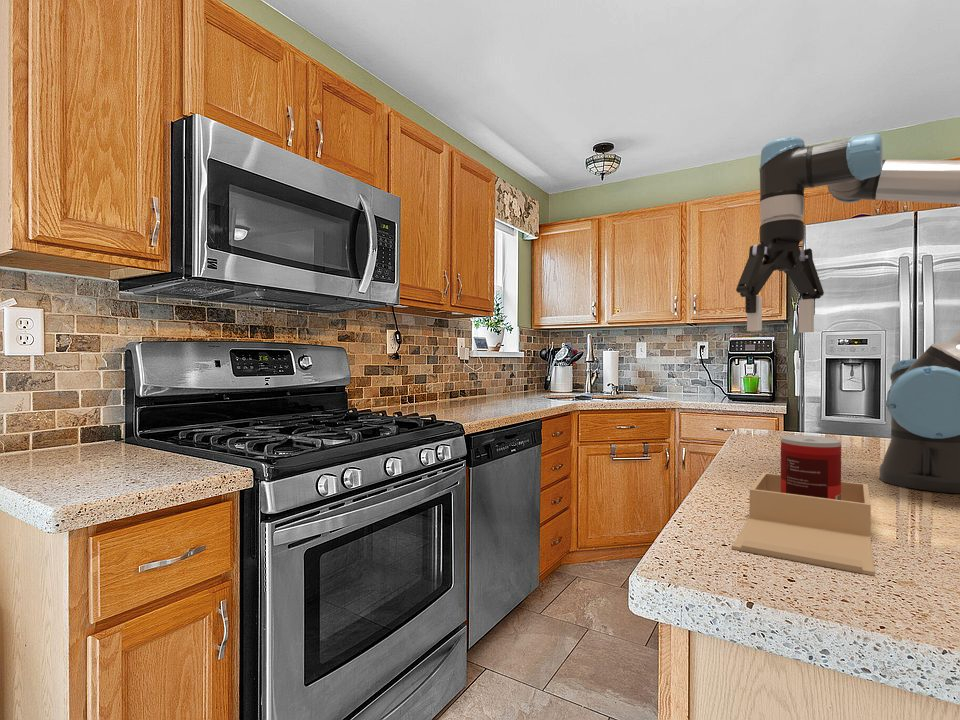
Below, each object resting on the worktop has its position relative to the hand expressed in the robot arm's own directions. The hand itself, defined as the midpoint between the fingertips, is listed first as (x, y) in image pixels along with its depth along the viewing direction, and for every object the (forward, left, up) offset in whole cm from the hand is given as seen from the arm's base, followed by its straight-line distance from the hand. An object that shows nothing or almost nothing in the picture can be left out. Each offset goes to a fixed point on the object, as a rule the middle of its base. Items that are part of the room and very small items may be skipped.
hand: (780, 331), depth 105 cm
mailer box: (+14, +31, -29) cm, 44 cm away
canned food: (+10, +25, -28) cm, 39 cm away
